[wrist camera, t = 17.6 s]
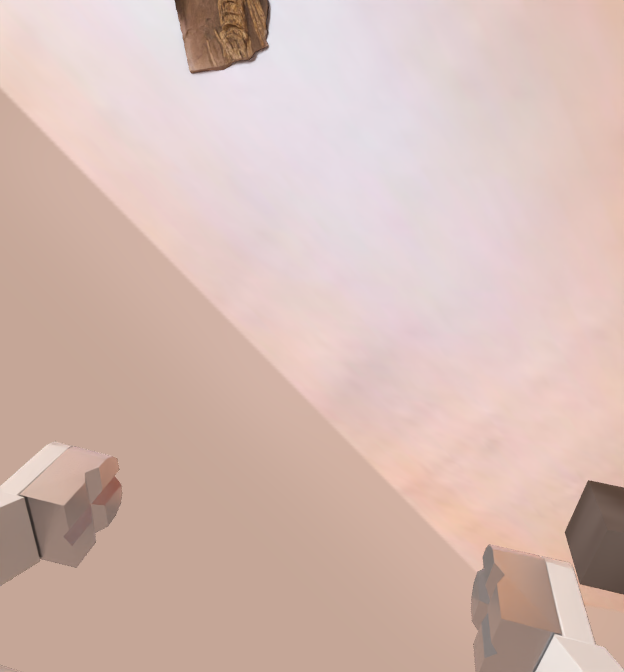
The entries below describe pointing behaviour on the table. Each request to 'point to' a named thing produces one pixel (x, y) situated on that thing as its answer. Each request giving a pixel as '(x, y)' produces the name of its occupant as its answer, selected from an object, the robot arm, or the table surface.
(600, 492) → the block
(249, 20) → the wooden fragment
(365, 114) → the table surface
